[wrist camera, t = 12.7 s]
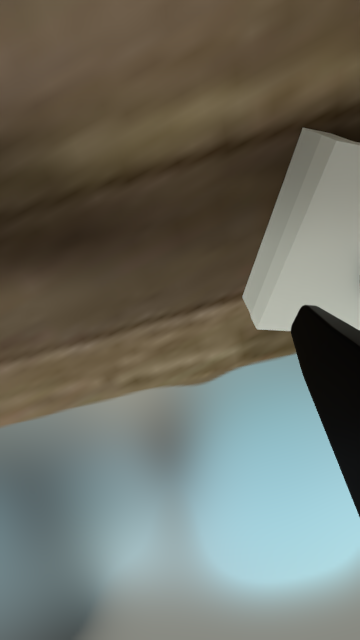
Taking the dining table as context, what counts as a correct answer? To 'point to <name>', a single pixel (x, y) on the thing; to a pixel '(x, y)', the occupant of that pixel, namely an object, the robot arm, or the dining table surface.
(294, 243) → the plate
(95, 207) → the dining table surface
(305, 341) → the robot arm
